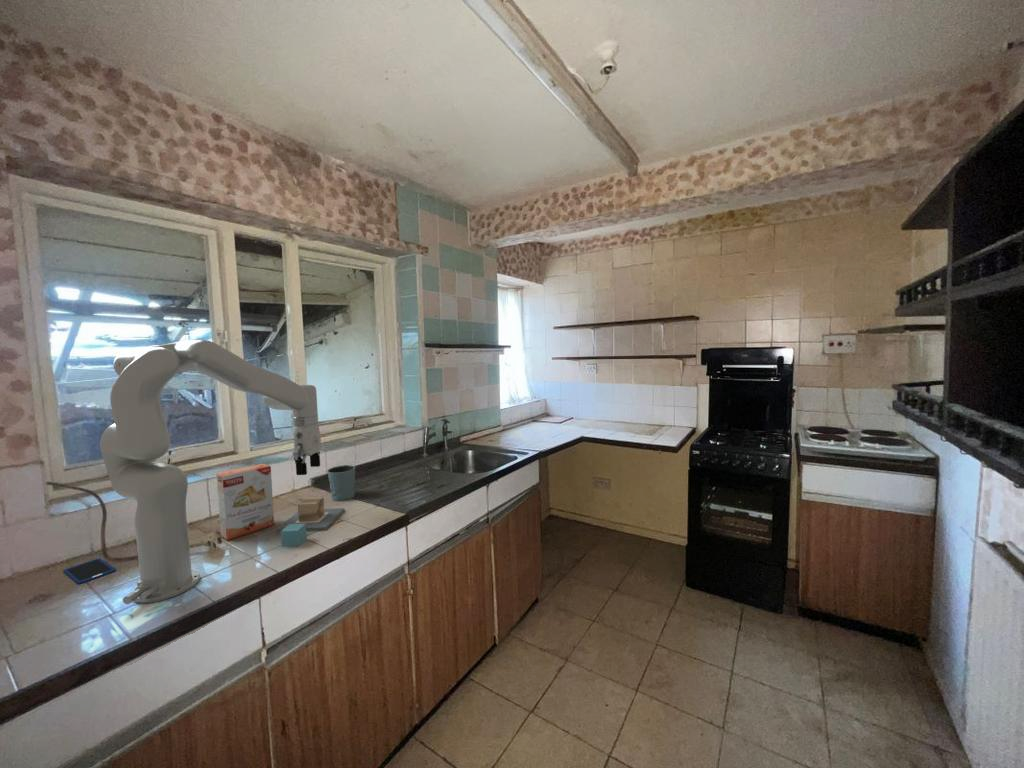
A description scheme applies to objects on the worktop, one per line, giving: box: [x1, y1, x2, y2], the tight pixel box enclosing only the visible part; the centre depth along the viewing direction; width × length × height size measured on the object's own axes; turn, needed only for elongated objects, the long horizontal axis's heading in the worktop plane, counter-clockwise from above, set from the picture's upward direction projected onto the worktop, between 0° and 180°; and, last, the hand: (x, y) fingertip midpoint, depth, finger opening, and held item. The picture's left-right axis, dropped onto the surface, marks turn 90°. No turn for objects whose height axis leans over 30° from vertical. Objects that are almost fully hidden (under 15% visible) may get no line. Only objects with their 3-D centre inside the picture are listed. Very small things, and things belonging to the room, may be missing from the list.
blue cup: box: [327, 464, 356, 502], centre depth 158 cm, size 10×10×12 cm
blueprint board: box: [275, 507, 345, 533], centre depth 137 cm, size 16×16×1 cm
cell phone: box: [62, 557, 117, 585], centre depth 107 cm, size 7×14×1 cm, turn 60°
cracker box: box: [216, 463, 275, 541], centre depth 129 cm, size 14×6×21 cm, turn 144°
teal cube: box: [280, 524, 308, 548], centre depth 121 cm, size 5×5×5 cm
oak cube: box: [297, 496, 325, 522], centre depth 136 cm, size 6×6×6 cm
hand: (308, 470), depth 135 cm, fingers open, 9 cm apart
